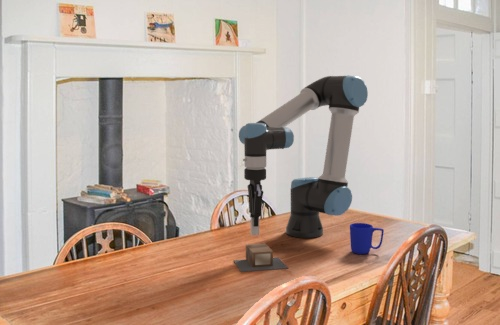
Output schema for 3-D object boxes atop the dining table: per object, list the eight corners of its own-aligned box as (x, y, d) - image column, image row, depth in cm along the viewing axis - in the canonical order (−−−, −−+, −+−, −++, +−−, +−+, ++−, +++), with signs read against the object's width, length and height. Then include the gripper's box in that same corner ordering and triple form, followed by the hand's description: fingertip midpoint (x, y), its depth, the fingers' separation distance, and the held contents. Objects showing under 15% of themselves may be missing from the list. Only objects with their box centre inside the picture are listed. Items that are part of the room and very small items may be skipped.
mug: (383, 256, 204) (384, 229, 203) (348, 254, 206) (349, 227, 205) (382, 250, 212) (383, 224, 211) (349, 248, 214) (350, 222, 213)
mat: (233, 261, 198) (233, 260, 198) (278, 258, 202) (278, 257, 202) (241, 271, 187) (241, 271, 187) (288, 268, 191) (288, 267, 191)
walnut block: (245, 244, 200) (252, 252, 190) (265, 243, 201) (273, 251, 192) (245, 258, 201) (252, 267, 191) (265, 257, 202) (272, 265, 192)
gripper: (240, 165, 203) (240, 230, 207) (249, 171, 191) (248, 240, 194) (261, 165, 205) (260, 229, 208) (270, 170, 193) (270, 238, 196)
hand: (254, 234), depth 201 cm, fingers closed
